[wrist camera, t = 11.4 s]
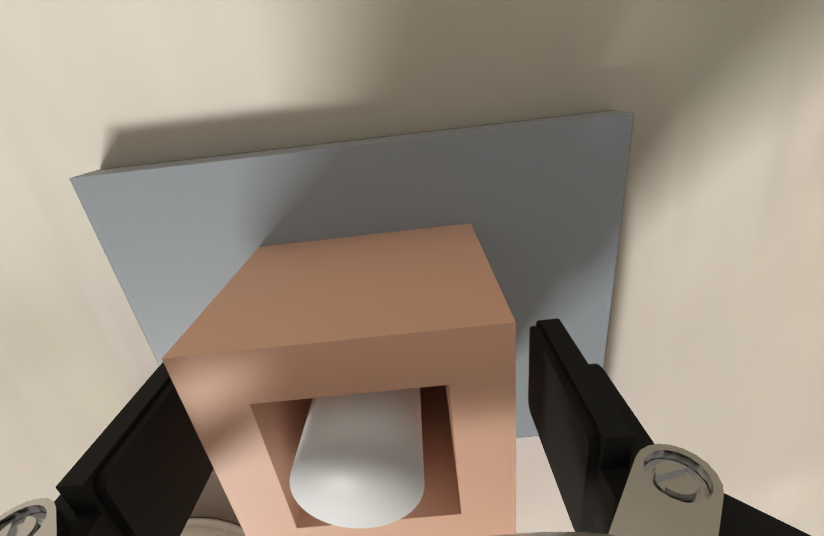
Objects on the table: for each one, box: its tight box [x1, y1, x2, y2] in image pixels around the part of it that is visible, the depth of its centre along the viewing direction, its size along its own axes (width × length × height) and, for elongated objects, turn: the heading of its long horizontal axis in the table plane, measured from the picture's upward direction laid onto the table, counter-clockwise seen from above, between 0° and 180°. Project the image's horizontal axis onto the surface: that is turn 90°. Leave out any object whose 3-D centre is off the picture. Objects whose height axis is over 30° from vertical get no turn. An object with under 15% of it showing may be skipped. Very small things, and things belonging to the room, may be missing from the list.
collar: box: [162, 223, 516, 536], centre depth 11 cm, size 7×7×6 cm
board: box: [69, 110, 634, 528], centre depth 12 cm, size 16×12×7 cm
